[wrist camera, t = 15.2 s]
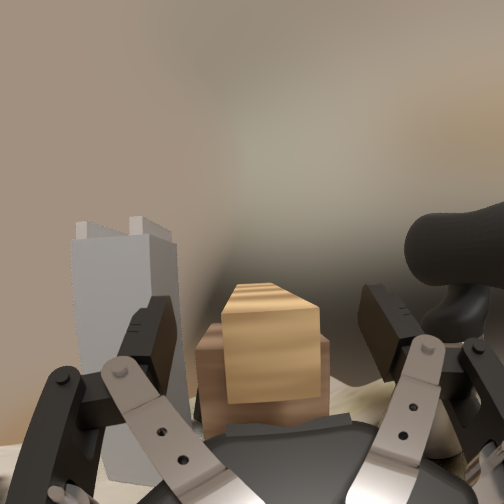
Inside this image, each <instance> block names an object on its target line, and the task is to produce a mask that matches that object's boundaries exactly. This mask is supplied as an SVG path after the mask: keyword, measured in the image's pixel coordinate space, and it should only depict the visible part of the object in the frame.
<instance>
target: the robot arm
mask: <svg viewBox="0 0 504 504" xmlns="http://www.w3.org/2000/svg"><path fill="white" fill-rule="evenodd" d="M404 254H405V259H406V262H407V265H408V267H409V269H410V271H411V272H412V274H413V275H414V276H415V277H416V278H417V279H418V280H419V281H420V282H422V283H424V284H426V285H430V286H441V285H448V292H447V294H446V296H445V298H444V299H443V300H442V302H441V303H440V304H439V305H437V306H436V307H435V308H433V309H432V310H430V311H429V312H427V313H426V314H425V315H424V316H423V318H422V322H421V327H420V325H419V324H418V322H417V321H416V320H415V318H414V317H413V315H411V312H410V311H409V309H407V307H406V305H405V304H404V302H403V301H402V300H401V299H400V298H399V297H397V296H396V295H394V294H389V293H388V291H387V290H386V289H385V287H384V286H383V284H381V283H376V284H366V285H364V286H363V289H362V294H361V300H360V306H359V311H358V325H359V328H360V330H361V332H362V335H363V337H364V339H365V341H366V343H367V345H368V347H369V350H370V352H371V354H372V356H373V358H374V360H375V363H376V365H377V367H378V369H379V372H380V374H381V376H382V378H383V381H384V383H385V382H390V381H395V384H396V385H395V388H394V390H393V393H392V395H391V398H390V400H389V403H388V405H387V407H386V410H385V412H384V414H383V417H382V419H381V421H380V423H379V426H378V427H376V426H373V425H371V424H368V423H364V422H358V421H352V420H351V417H350V414H349V413H344V414H338V415H331V416H324V417H319V418H316V419H313V420H311V421H308V422H305V423H302V424H299V425H296V426H293V427H282V426H274V425H267V424H260V423H250V424H226V433H223V434H220V435H217V436H214V437H212V438H210V439H207V440H206V441H204V442H202V441H201V440H200V439H199V437H198V436H197V435H196V434H195V433H194V431H193V430H192V429H191V428H190V427H189V426H188V424H187V423H186V422H185V421H184V419H183V418H182V417H181V416H180V414H179V413H178V412H177V411H176V409H175V408H174V407H173V406H172V404H171V403H170V402H169V400H168V399H167V398H166V394H167V388H168V383H169V377H170V372H171V367H172V362H173V356H174V351H175V346H176V342H177V324H176V320H175V315H174V310H173V305H172V301H171V297H170V296H169V295H164V296H151V298H150V301H149V304H148V306H147V308H140V309H139V310H138V311H137V312H136V313H135V314H134V315H133V316H132V318H131V321H130V323H129V326H128V328H127V331H126V332H127V333H125V336H124V338H123V341H122V344H121V346H120V349H119V352H118V354H117V357H114V358H112V359H110V360H108V361H107V362H106V363H105V364H104V365H103V367H102V369H101V371H100V372H95V373H90V374H85V375H80V373H79V371H78V370H77V369H76V368H75V367H72V366H63V367H60V368H57V369H56V370H54V371H53V372H52V373H51V374H50V376H49V377H48V379H47V382H46V384H45V387H44V389H43V391H42V394H41V396H40V398H39V401H38V404H37V406H36V409H35V411H34V414H33V417H32V419H31V422H30V424H29V427H28V430H27V433H26V436H25V438H24V442H23V444H22V447H21V450H20V453H19V457H18V460H17V463H16V466H15V470H14V473H13V477H12V480H11V484H10V487H9V491H8V495H7V499H6V503H5V504H99V503H98V502H97V501H96V500H94V499H93V495H94V489H95V482H96V476H97V470H98V465H99V459H100V454H101V449H102V444H103V439H104V434H105V429H106V427H108V426H113V425H119V424H124V423H127V425H128V427H129V428H130V430H131V432H132V433H133V435H134V436H135V438H136V440H137V441H138V443H139V444H140V446H141V448H142V449H143V451H144V452H145V454H146V455H147V457H148V458H149V460H150V461H151V463H152V464H153V466H154V467H155V469H156V470H157V471H158V473H159V474H160V476H161V477H162V478H163V480H162V481H161V482H160V483H159V484H158V485H157V486H155V487H154V488H153V489H152V490H151V491H150V492H149V493H148V494H147V495H146V496H145V497H144V498H142V499H141V500H140V501H139V502H138V503H137V504H504V366H503V364H502V363H501V362H500V360H499V358H498V357H497V355H496V354H495V352H494V351H493V350H492V348H491V347H490V345H489V344H488V343H487V342H485V341H484V340H483V338H484V337H483V336H484V324H485V320H486V318H487V315H488V312H489V308H490V299H491V298H490V297H491V287H495V288H500V289H504V202H501V203H499V204H495V205H492V206H489V207H487V208H484V209H480V210H477V211H473V212H468V213H431V214H426V215H424V216H422V217H420V218H419V219H417V220H416V221H415V222H414V224H413V225H412V226H411V227H410V229H409V231H408V233H407V236H406V239H405V245H404ZM477 393H478V395H479V396H480V399H481V405H480V403H479V402H478V399H477ZM462 451H463V453H464V455H465V458H466V460H467V463H468V465H467V466H466V469H465V480H462V479H461V478H459V477H457V476H455V475H454V474H452V473H450V472H448V471H447V470H445V469H443V468H442V467H440V466H438V465H437V464H435V463H433V462H432V461H430V460H429V459H427V458H430V459H444V458H449V457H452V456H455V455H457V454H459V453H461V452H462ZM425 457H426V458H425Z"/></svg>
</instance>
